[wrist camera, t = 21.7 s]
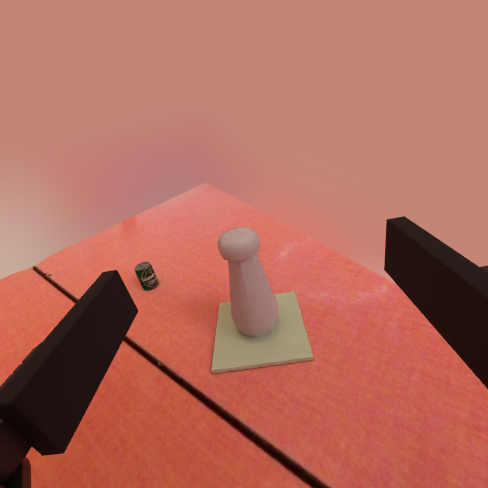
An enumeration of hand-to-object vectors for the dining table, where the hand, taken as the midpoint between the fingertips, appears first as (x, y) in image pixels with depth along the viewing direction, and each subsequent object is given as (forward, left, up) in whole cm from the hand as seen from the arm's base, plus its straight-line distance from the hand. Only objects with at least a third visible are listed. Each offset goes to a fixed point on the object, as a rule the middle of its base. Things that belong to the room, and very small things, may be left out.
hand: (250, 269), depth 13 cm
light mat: (+2, -13, -17) cm, 22 cm away
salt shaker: (+2, -13, -17) cm, 22 cm away
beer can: (+21, -27, -18) cm, 39 cm away
